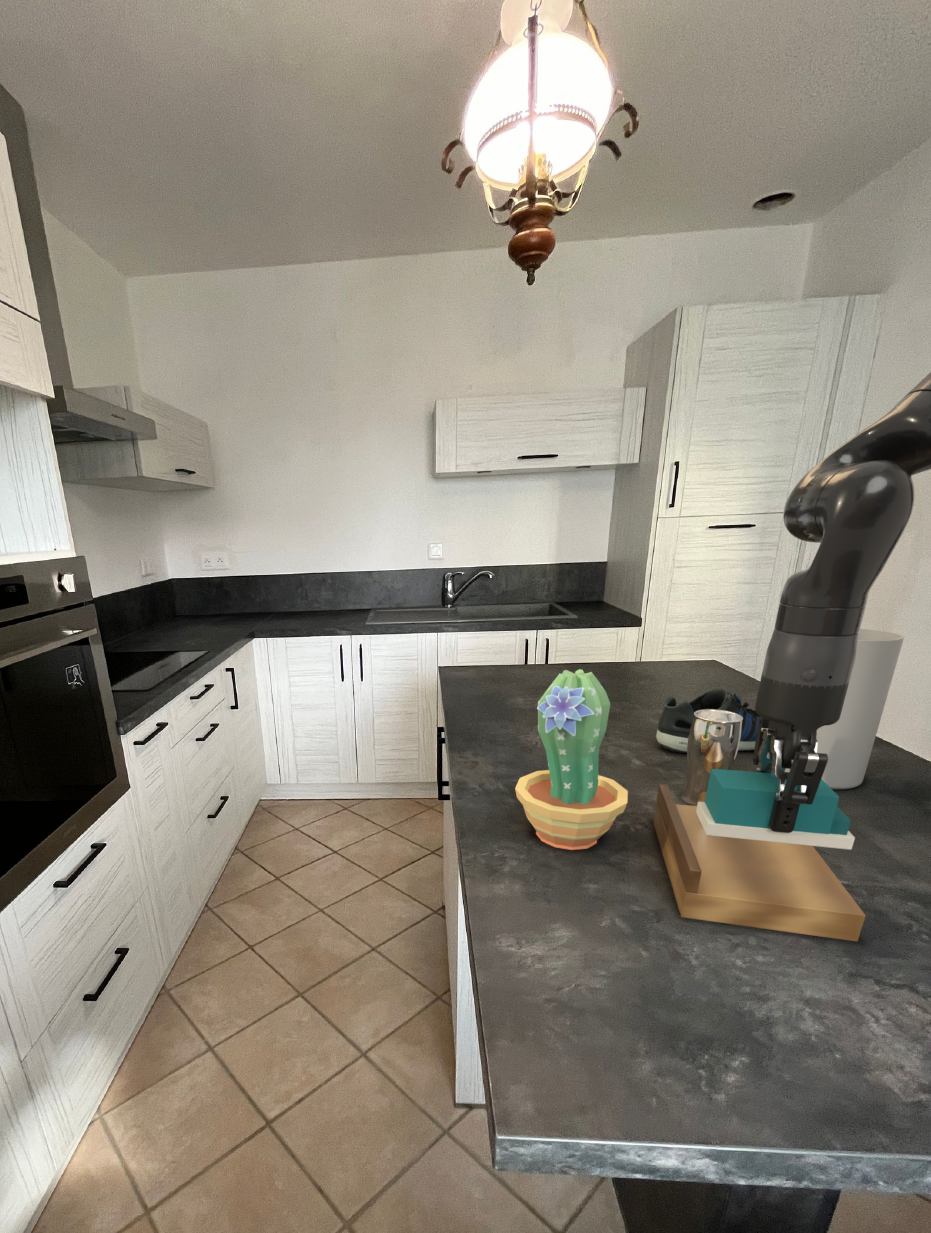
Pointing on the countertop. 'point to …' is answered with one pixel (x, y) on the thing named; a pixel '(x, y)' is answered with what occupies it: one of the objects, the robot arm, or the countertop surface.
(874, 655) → the cylinder vase
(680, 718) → the water shoe
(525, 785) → the potted cactus
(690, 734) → the silver metal cup
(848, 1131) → the countertop surface
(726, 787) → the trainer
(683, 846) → the wooden board with lip
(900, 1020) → the countertop surface
